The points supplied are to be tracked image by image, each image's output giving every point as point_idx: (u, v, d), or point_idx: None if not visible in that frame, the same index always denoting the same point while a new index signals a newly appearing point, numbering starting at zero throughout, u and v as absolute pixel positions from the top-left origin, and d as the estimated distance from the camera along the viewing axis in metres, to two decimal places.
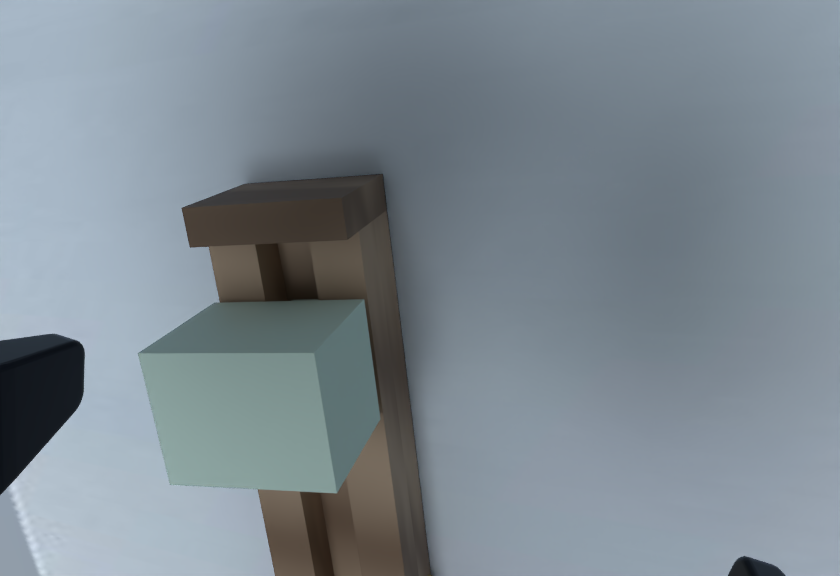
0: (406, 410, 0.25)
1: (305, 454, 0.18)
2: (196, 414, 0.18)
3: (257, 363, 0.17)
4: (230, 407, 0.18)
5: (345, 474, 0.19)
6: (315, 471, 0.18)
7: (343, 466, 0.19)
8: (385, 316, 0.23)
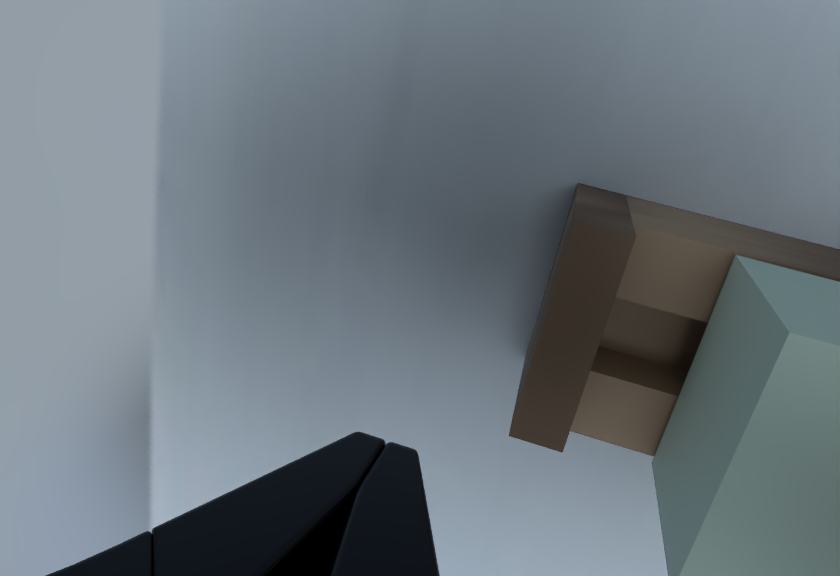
0: None
1: None
2: (811, 567, 0.11)
3: (766, 431, 0.10)
4: (824, 511, 0.11)
5: None
6: None
7: None
8: (777, 247, 0.15)
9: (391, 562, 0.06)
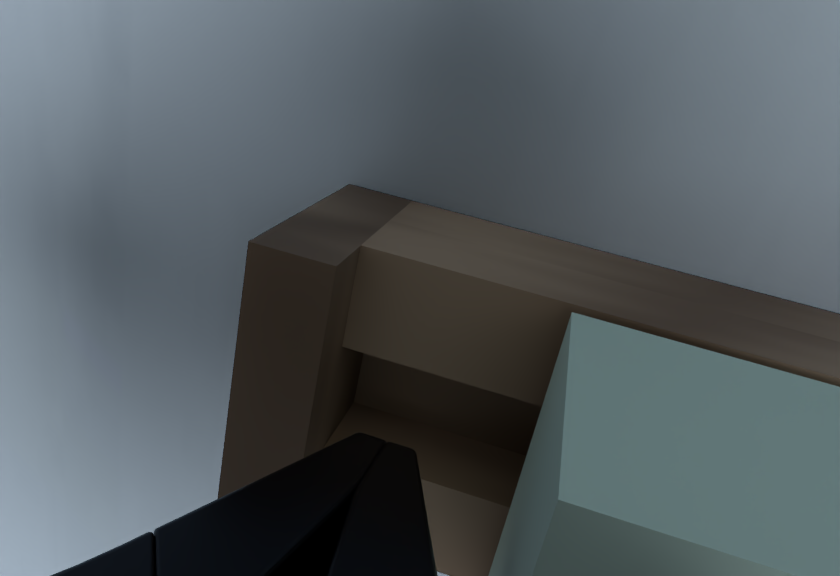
0: (839, 322, 0.11)
1: None
2: None
3: None
4: None
5: None
6: None
7: None
8: (589, 275, 0.10)
9: (389, 561, 0.06)
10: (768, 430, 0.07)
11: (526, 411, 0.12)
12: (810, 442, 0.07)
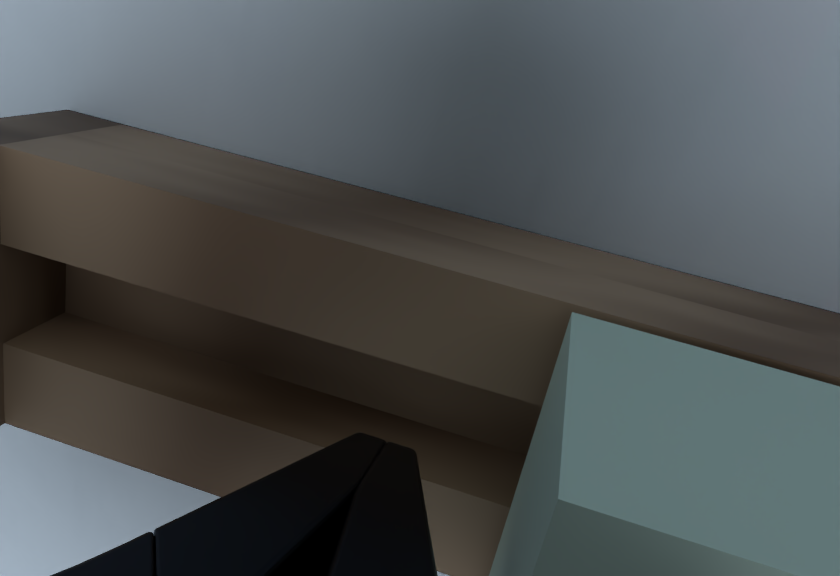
0: (483, 227, 0.12)
1: None
2: None
3: None
4: None
5: None
6: None
7: None
8: (238, 180, 0.11)
9: (388, 561, 0.06)
10: (768, 430, 0.07)
11: (209, 316, 0.12)
12: (810, 442, 0.07)
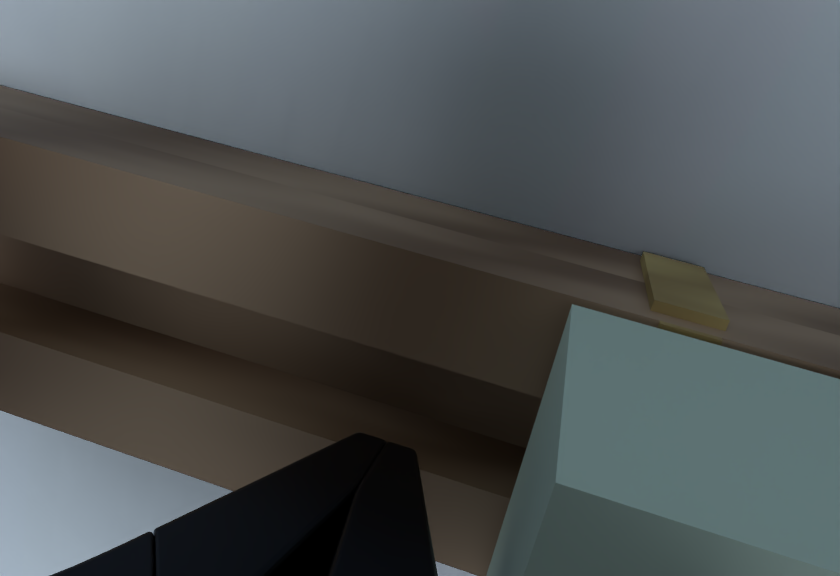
0: (235, 155, 0.12)
1: None
2: None
3: None
4: None
5: None
6: None
7: None
8: None
9: (389, 561, 0.06)
10: (765, 419, 0.07)
11: None
12: (806, 431, 0.07)
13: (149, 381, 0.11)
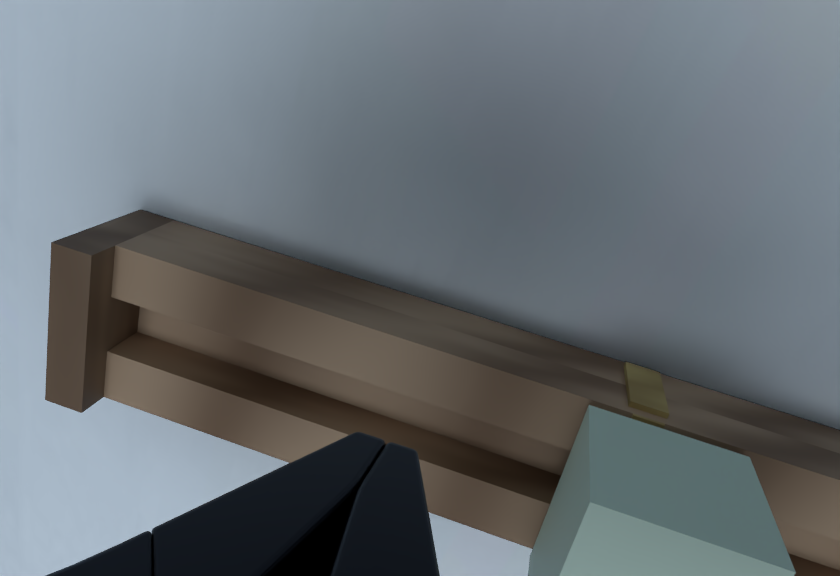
0: (383, 293, 0.21)
1: None
2: None
3: (578, 568, 0.14)
4: None
5: (780, 545, 0.14)
6: None
7: (766, 542, 0.14)
8: (244, 264, 0.20)
9: (391, 562, 0.06)
10: (679, 472, 0.15)
11: (224, 337, 0.21)
12: (697, 478, 0.15)
13: (338, 431, 0.20)
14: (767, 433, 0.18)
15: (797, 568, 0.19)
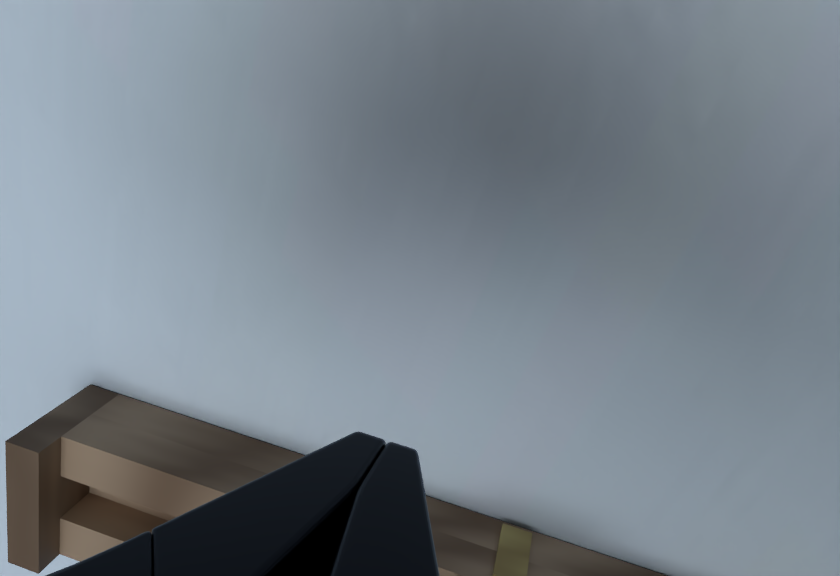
0: None
1: None
2: None
3: None
4: None
5: None
6: None
7: None
8: (174, 443, 0.23)
9: (391, 562, 0.06)
10: None
11: None
12: None
13: None
14: None
15: None
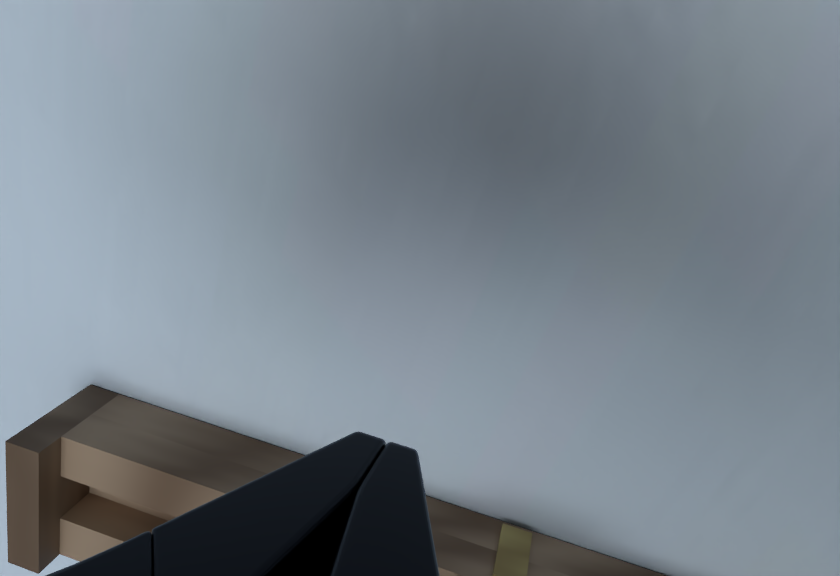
0: None
1: None
2: None
3: None
4: None
5: None
6: None
7: None
8: (174, 443, 0.23)
9: (391, 562, 0.06)
10: None
11: None
12: None
13: None
14: None
15: None
